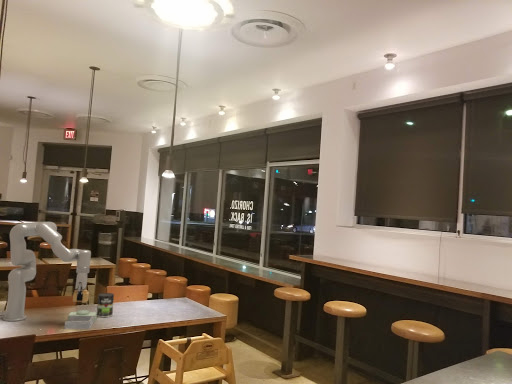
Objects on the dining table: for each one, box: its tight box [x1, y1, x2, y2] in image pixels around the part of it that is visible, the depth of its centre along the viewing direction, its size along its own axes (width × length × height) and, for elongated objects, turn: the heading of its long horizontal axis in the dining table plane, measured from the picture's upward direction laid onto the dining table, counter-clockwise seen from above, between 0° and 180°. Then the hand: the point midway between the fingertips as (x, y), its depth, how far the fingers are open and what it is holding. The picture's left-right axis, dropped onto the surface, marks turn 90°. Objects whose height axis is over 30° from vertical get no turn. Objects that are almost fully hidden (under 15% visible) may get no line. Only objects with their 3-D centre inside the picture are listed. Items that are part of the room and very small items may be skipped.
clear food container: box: [66, 309, 98, 322], centre depth 258 cm, size 16×9×5 cm, turn 103°
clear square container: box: [64, 315, 94, 330], centre depth 247 cm, size 14×14×4 cm
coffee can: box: [96, 292, 115, 318], centre depth 272 cm, size 10×10×14 cm
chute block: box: [72, 289, 90, 303], centre depth 247 cm, size 8×5×6 cm, turn 102°
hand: (80, 299), depth 247 cm, fingers closed on chute block, 5 cm apart
